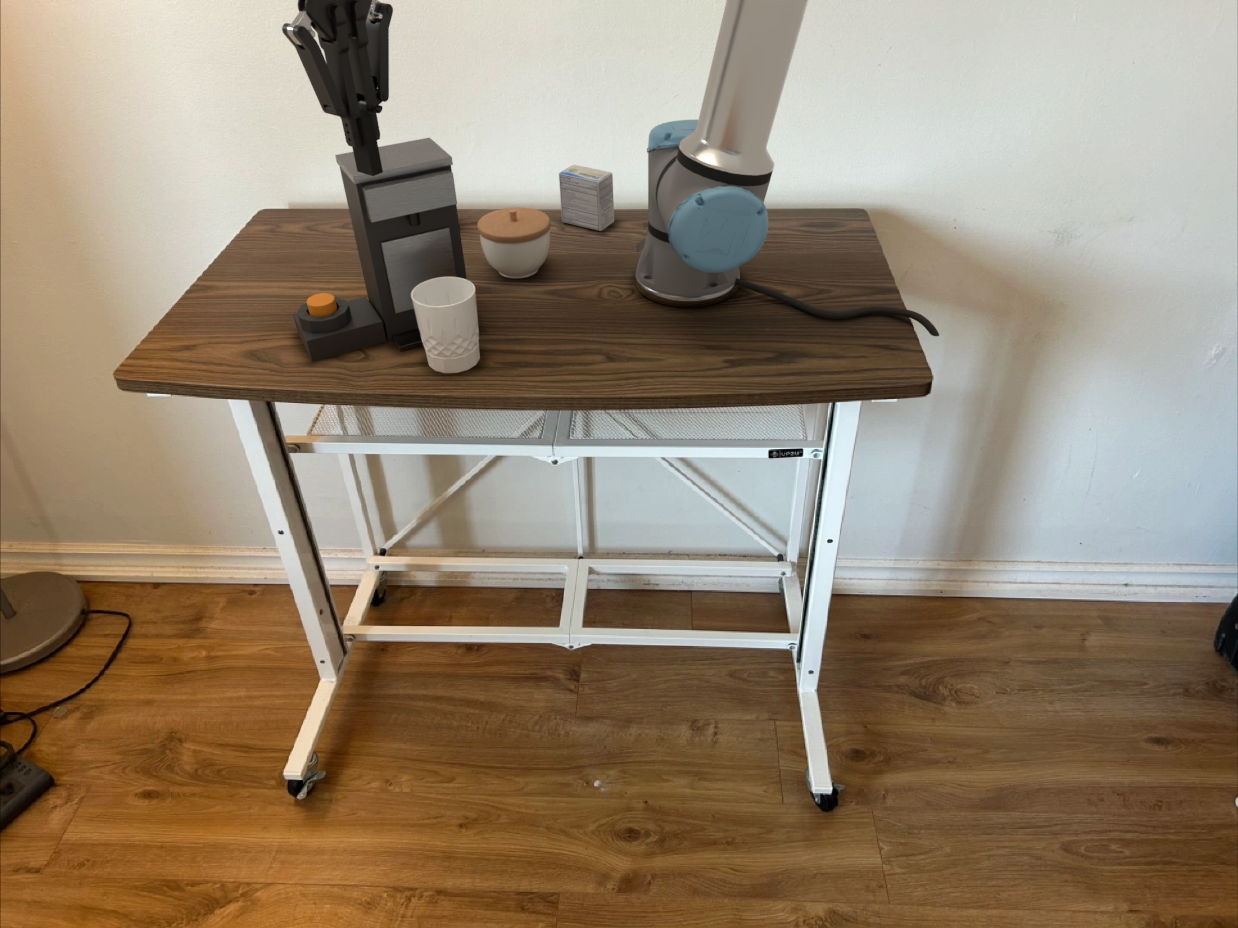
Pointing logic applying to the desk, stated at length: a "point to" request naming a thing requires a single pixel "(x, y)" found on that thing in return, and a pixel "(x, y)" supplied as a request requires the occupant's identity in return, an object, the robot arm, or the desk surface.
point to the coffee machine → (404, 229)
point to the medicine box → (586, 197)
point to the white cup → (448, 323)
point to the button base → (339, 328)
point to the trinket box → (515, 240)
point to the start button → (321, 304)
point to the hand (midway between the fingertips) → (370, 171)
